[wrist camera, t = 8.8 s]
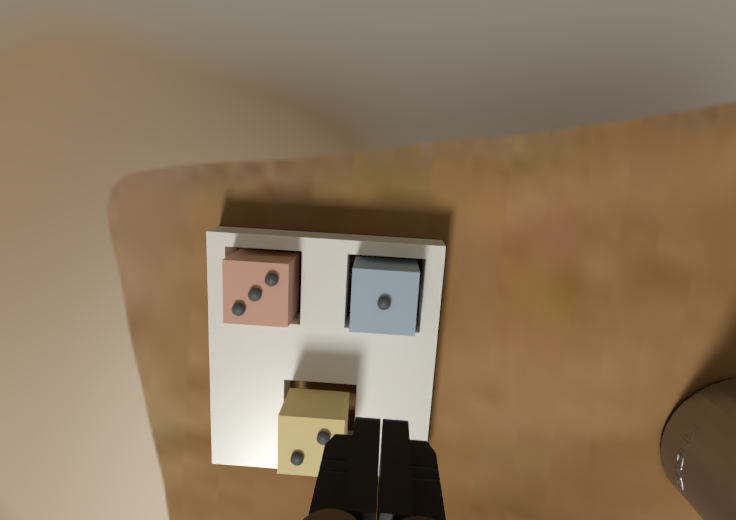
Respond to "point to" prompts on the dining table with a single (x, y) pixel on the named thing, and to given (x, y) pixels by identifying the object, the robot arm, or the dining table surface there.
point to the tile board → (316, 342)
